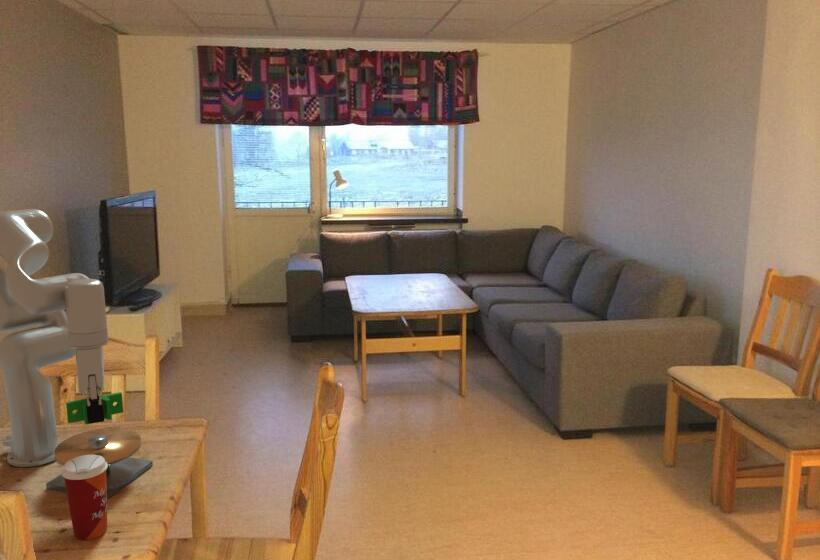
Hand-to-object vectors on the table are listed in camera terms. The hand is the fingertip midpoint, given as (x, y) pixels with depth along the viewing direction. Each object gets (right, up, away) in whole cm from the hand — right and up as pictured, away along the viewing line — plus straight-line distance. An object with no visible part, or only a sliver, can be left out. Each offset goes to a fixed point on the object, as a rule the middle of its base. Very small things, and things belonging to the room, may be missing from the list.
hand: (95, 417), depth 152 cm
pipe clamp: (0, -1, 0) cm, 1 cm away
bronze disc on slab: (-3, -15, +9) cm, 18 cm away
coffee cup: (+5, -21, -13) cm, 25 cm away
